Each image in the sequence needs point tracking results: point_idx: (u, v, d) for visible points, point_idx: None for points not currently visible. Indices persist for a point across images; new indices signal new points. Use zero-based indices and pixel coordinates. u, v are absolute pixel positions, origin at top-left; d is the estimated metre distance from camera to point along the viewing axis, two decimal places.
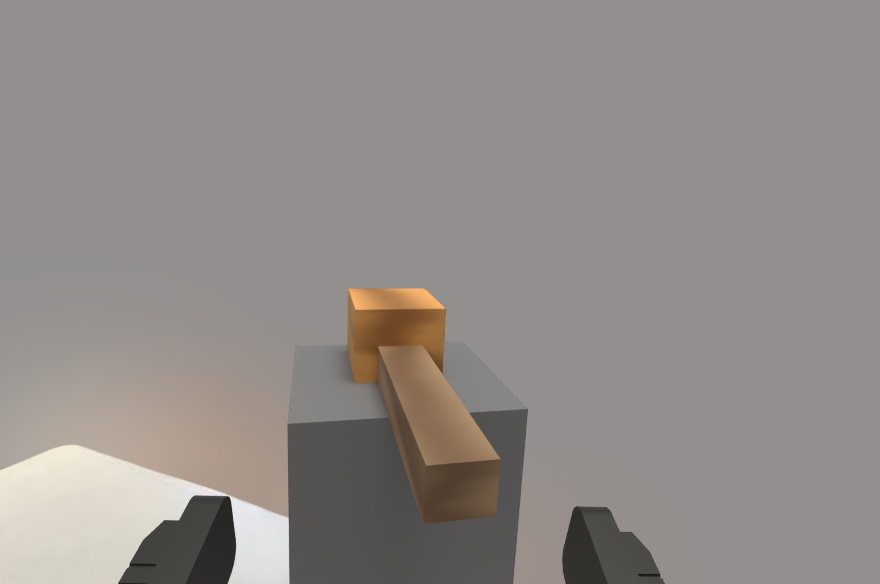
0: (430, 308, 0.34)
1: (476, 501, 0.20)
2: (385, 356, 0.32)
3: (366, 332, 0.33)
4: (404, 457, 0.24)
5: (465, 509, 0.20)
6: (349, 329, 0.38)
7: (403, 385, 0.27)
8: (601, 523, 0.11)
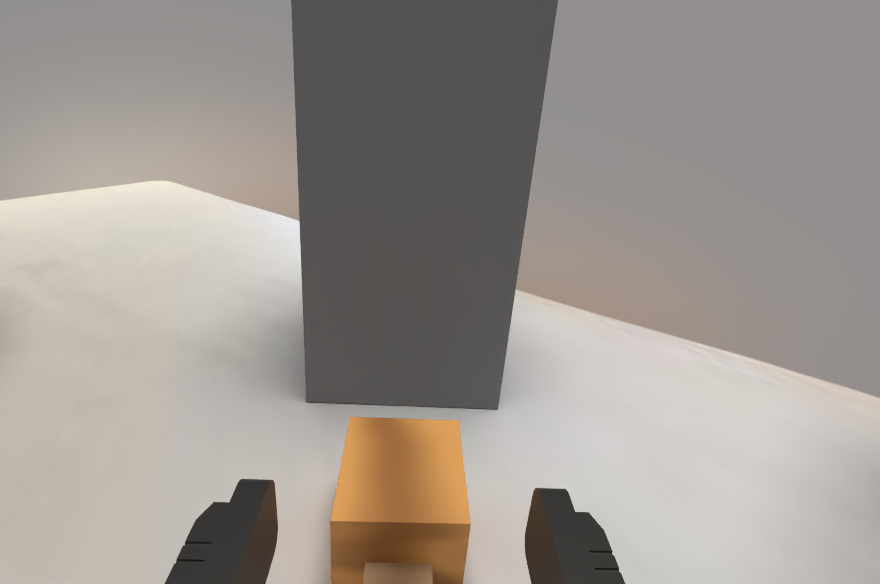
0: (446, 520, 0.22)
1: None
2: None
3: (347, 546, 0.22)
4: None
5: None
6: None
7: None
8: (557, 503, 0.12)
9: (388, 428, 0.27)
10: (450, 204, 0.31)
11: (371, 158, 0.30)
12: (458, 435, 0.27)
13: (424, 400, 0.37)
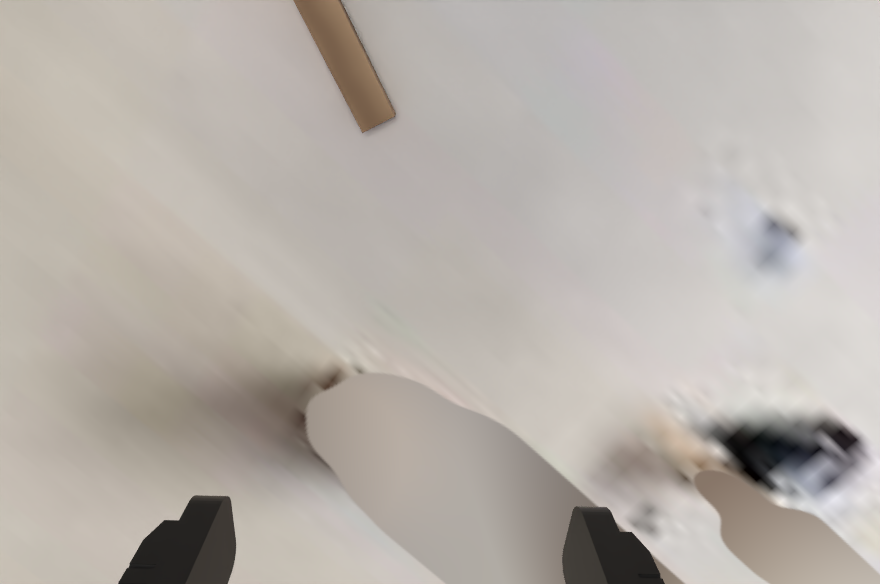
0: None
1: None
2: None
3: None
4: None
5: None
6: None
7: (317, 31, 0.39)
8: (601, 523, 0.11)
9: None
10: None
11: None
12: None
13: None
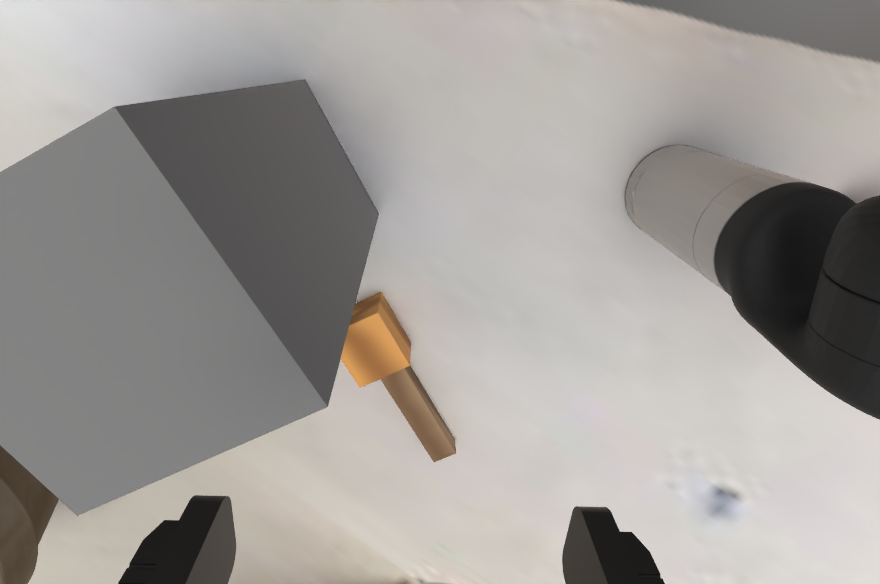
0: (400, 368, 0.54)
1: None
2: (384, 383, 0.57)
3: None
4: None
5: None
6: None
7: (407, 413, 0.59)
8: (601, 523, 0.11)
9: (348, 334, 0.52)
10: None
11: None
12: (383, 322, 0.51)
13: None
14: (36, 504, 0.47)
